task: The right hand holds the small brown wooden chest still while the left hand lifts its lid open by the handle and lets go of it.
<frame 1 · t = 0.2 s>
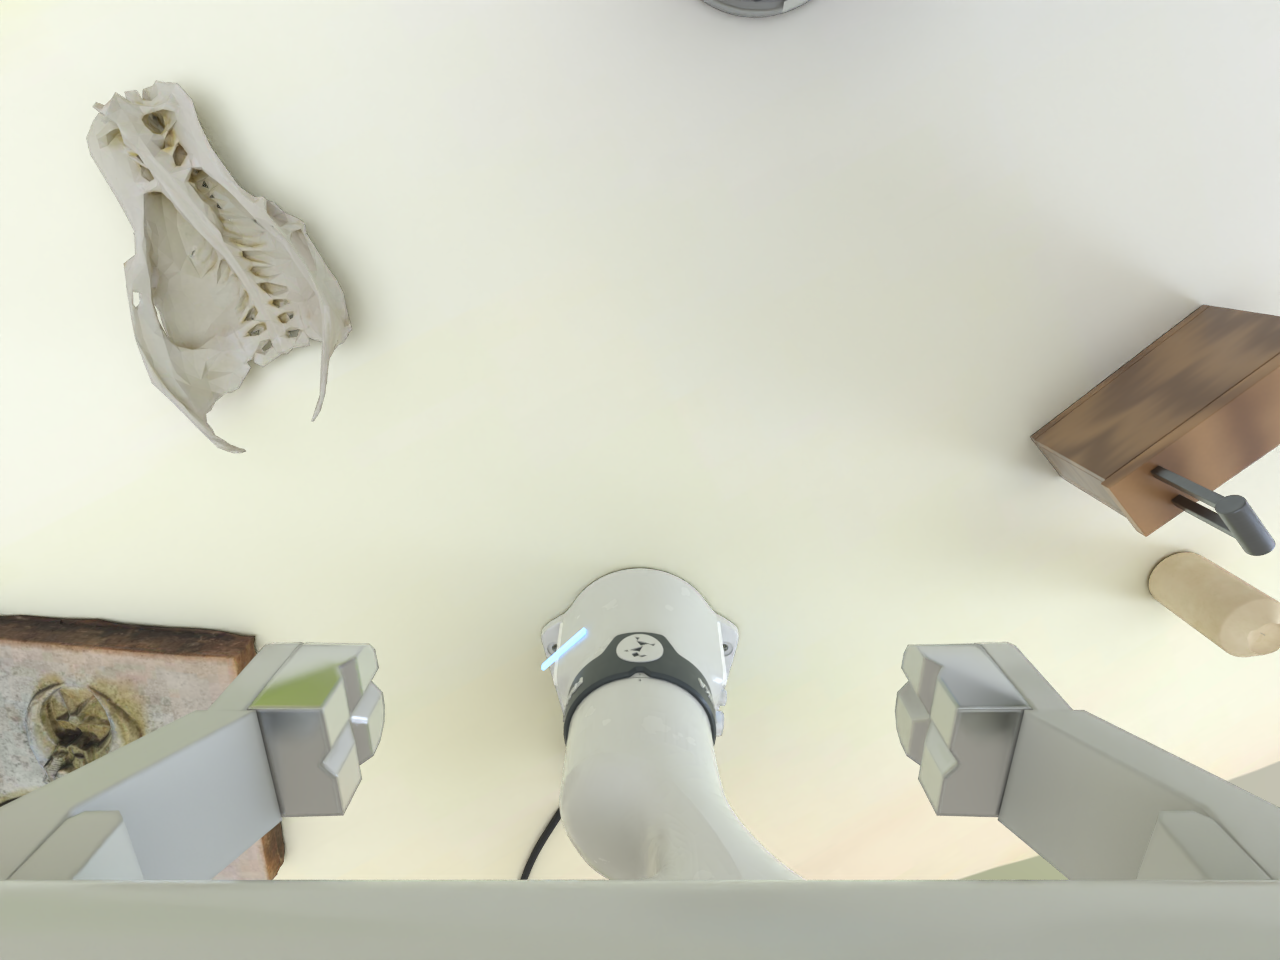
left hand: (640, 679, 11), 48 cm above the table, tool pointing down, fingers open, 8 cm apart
candle: (1176, 576, 64), on the table
anatomical model: (246, 264, 54), on the table
chest: (1129, 395, 58), on the table
plaque: (126, 742, 71), on the table
lid: (1276, 451, 44), point 15 cm above the table, hinge at 0.0°
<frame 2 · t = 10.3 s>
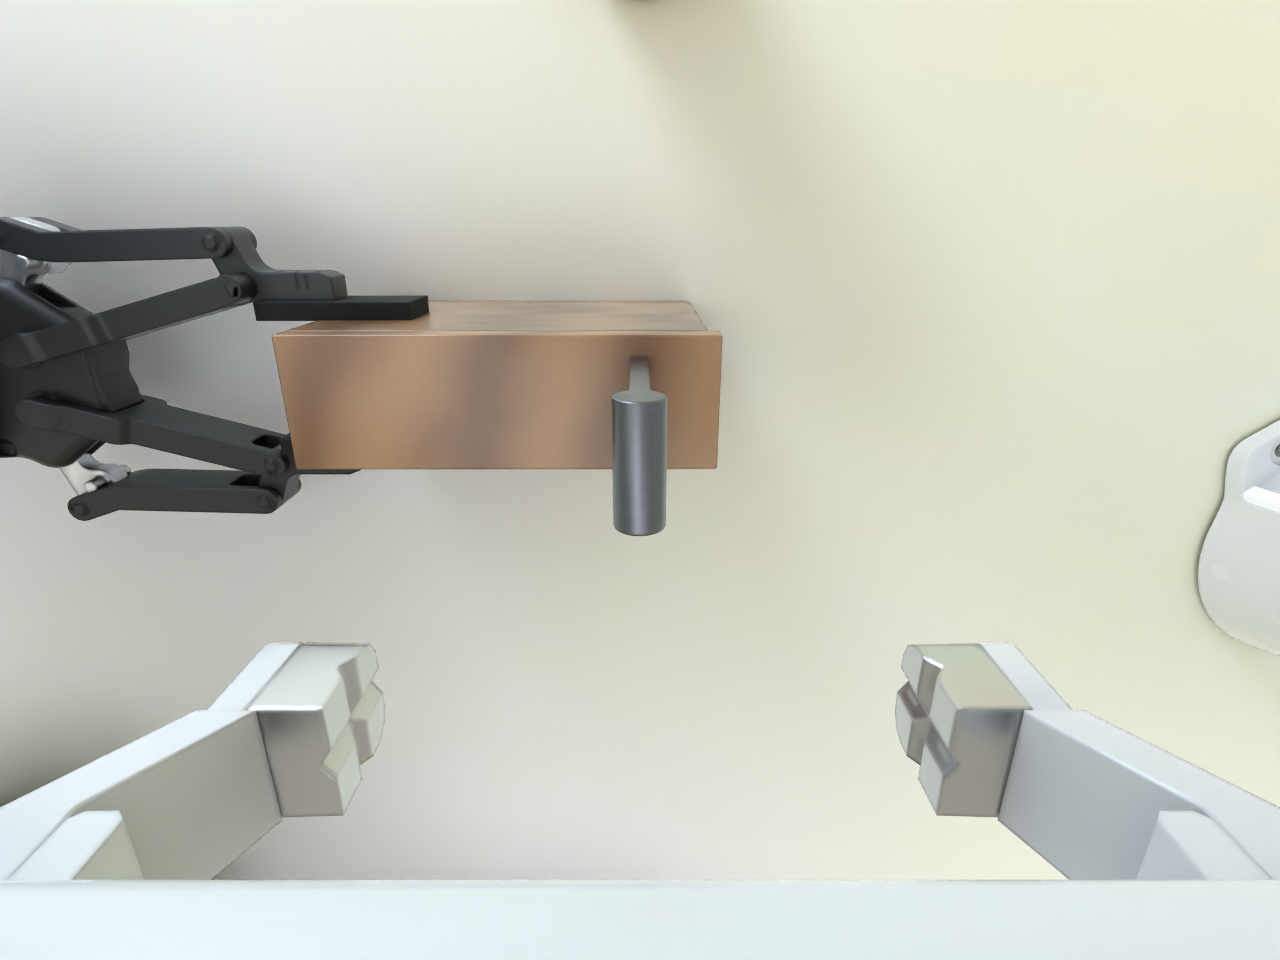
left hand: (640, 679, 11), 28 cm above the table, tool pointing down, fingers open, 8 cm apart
right hand: (425, 375, 31), fingers closed on chest, 5 cm apart
chest: (537, 351, 37), on the table, touching right hand
lid: (484, 428, 23), point 15 cm above the table, hinge at 0.0°
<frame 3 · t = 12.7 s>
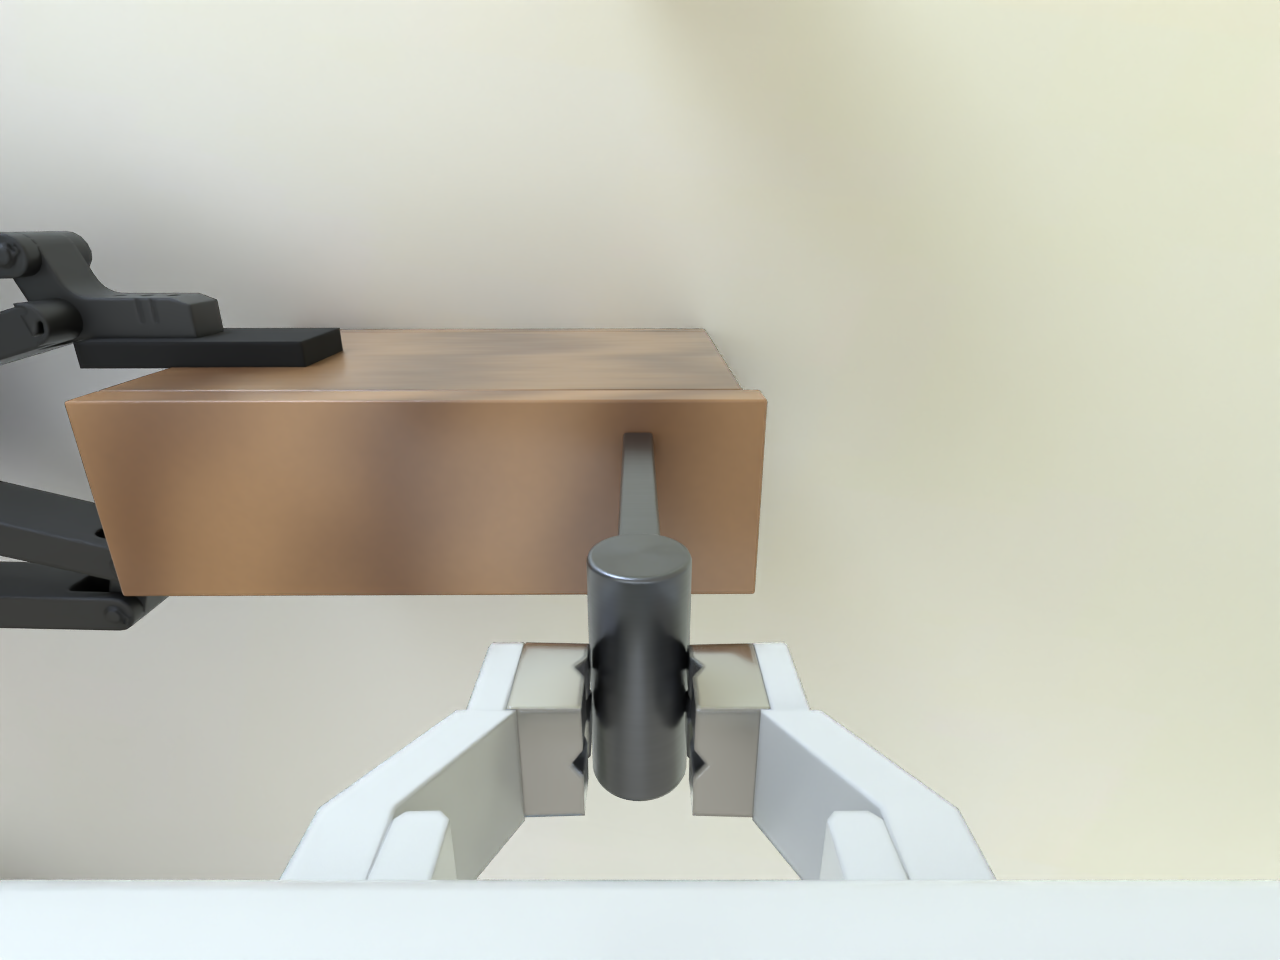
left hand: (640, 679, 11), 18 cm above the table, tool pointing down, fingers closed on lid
chest: (503, 394, 28), on the table, touching right hand
lid: (383, 564, 14), point 15 cm above the table, hinge at -0.1°, touching left hand
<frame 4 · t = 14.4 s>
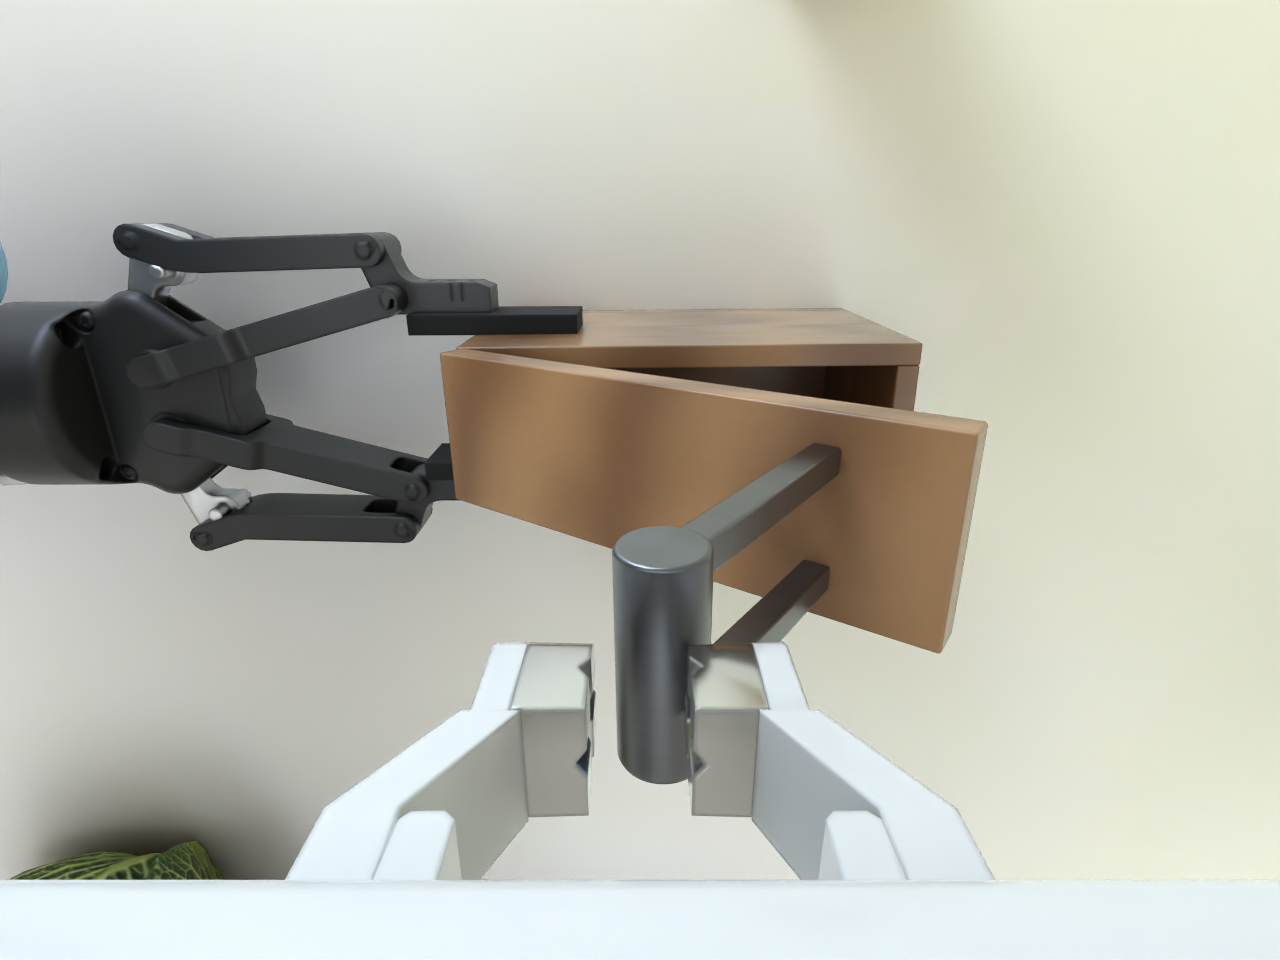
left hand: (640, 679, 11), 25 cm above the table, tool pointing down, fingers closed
right hand: (581, 392, 29), fingers closed on chest, 5 cm apart
vegetable: (166, 896, 47), on the table
chest: (675, 363, 34), on the table, touching right hand
lid: (565, 513, 17), point 19 cm above the table, hinge at 35.7°, touching left hand
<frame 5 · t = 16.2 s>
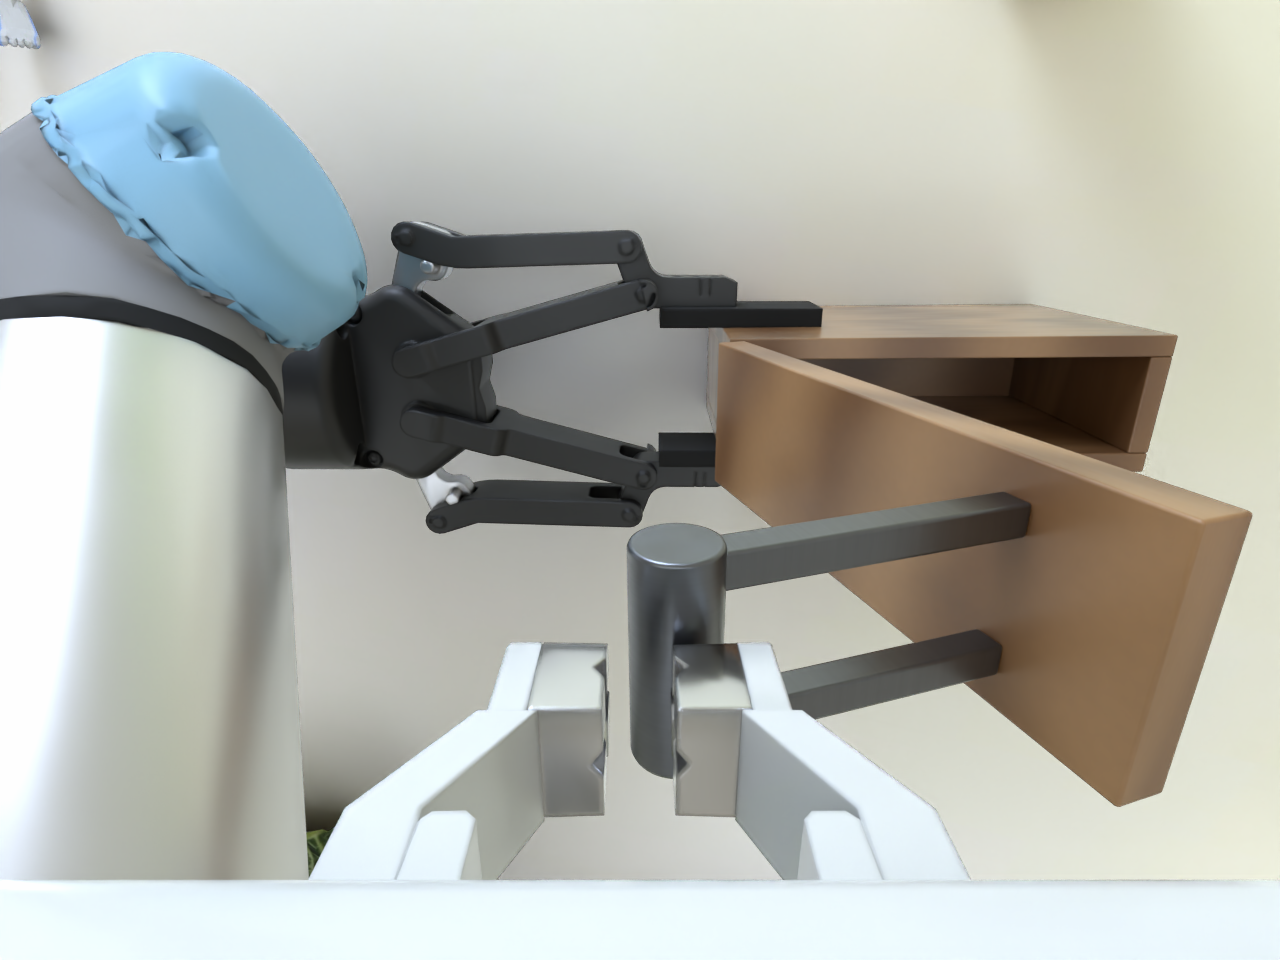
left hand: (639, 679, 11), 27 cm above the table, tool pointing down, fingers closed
right hand: (807, 384, 30), fingers closed on chest, 5 cm apart
vegetable: (319, 873, 49), on the table
chest: (864, 357, 36), on the table, touching right hand
lid: (733, 507, 17), point 20 cm above the table, hinge at 70.9°, touching left hand
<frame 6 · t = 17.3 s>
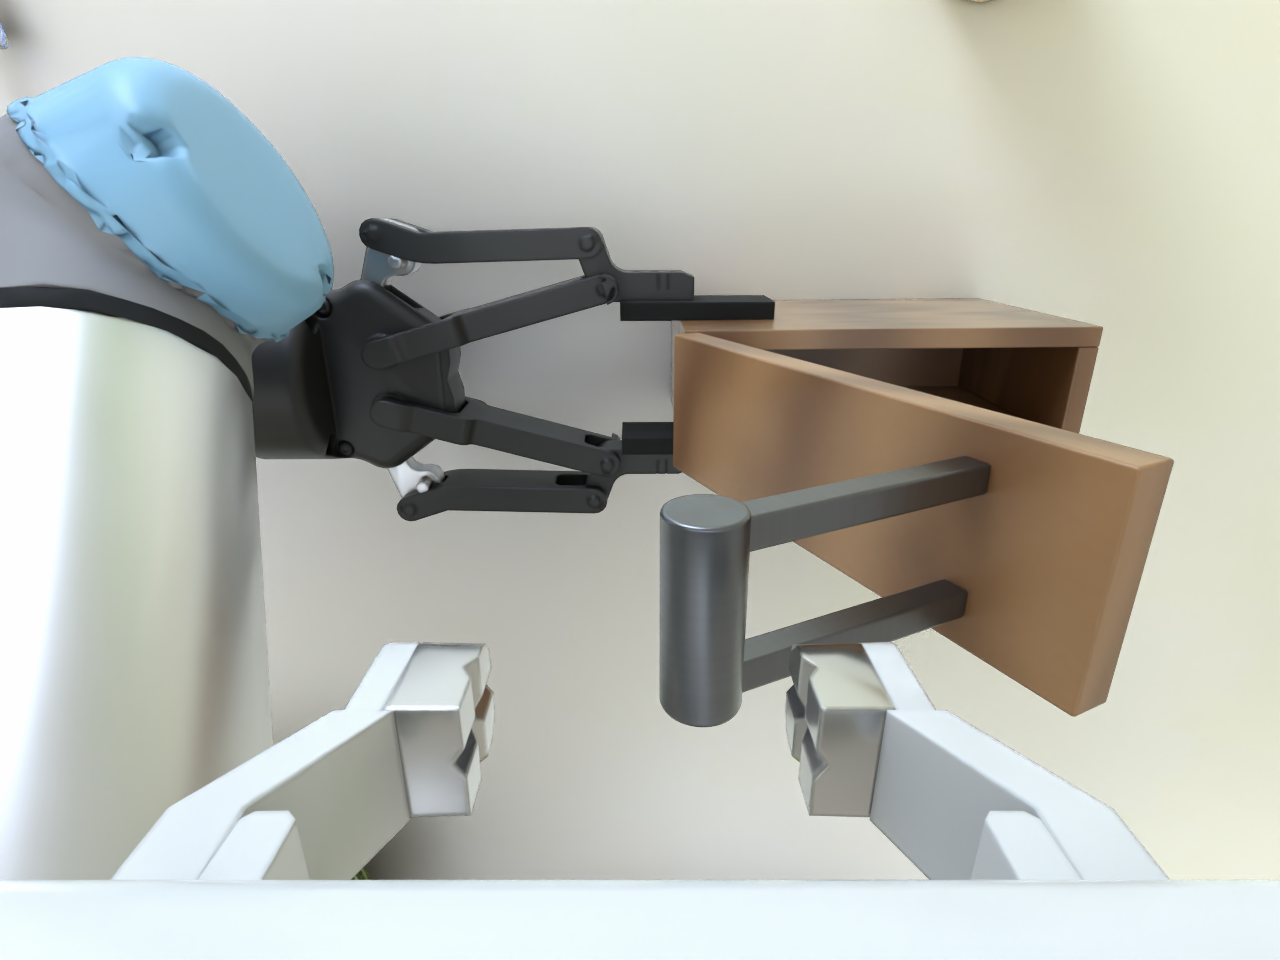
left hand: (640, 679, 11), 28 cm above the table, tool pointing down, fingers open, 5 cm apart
right hand: (763, 374, 31), fingers closed on chest, 5 cm apart
chest: (821, 349, 37), on the table, touching right hand
lid: (715, 485, 18), point 20 cm above the table, hinge at 64.5°
when the right hand's fingers open (6 cm above the table, at t = 19.9 s): chest stays where it is, on the table.
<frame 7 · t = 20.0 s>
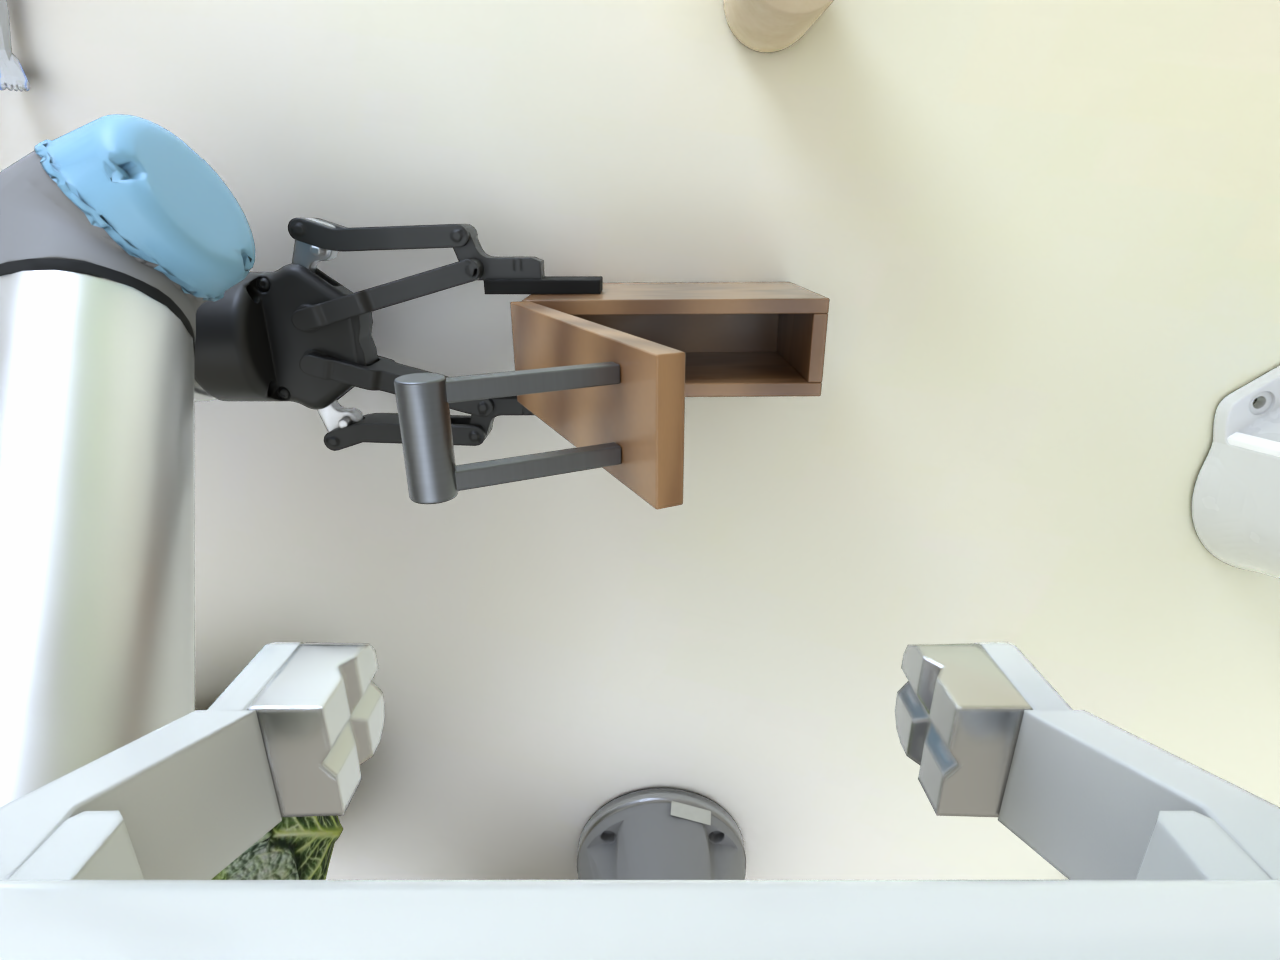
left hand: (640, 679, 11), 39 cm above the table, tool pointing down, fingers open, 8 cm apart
right hand: (601, 337, 41), fingers open, 5 cm apart
vegetable: (263, 754, 60), on the table
candle: (769, 0, 40), on the table
chest: (668, 322, 47), on the table
lid: (493, 392, 28), point 20 cm above the table, hinge at 64.1°
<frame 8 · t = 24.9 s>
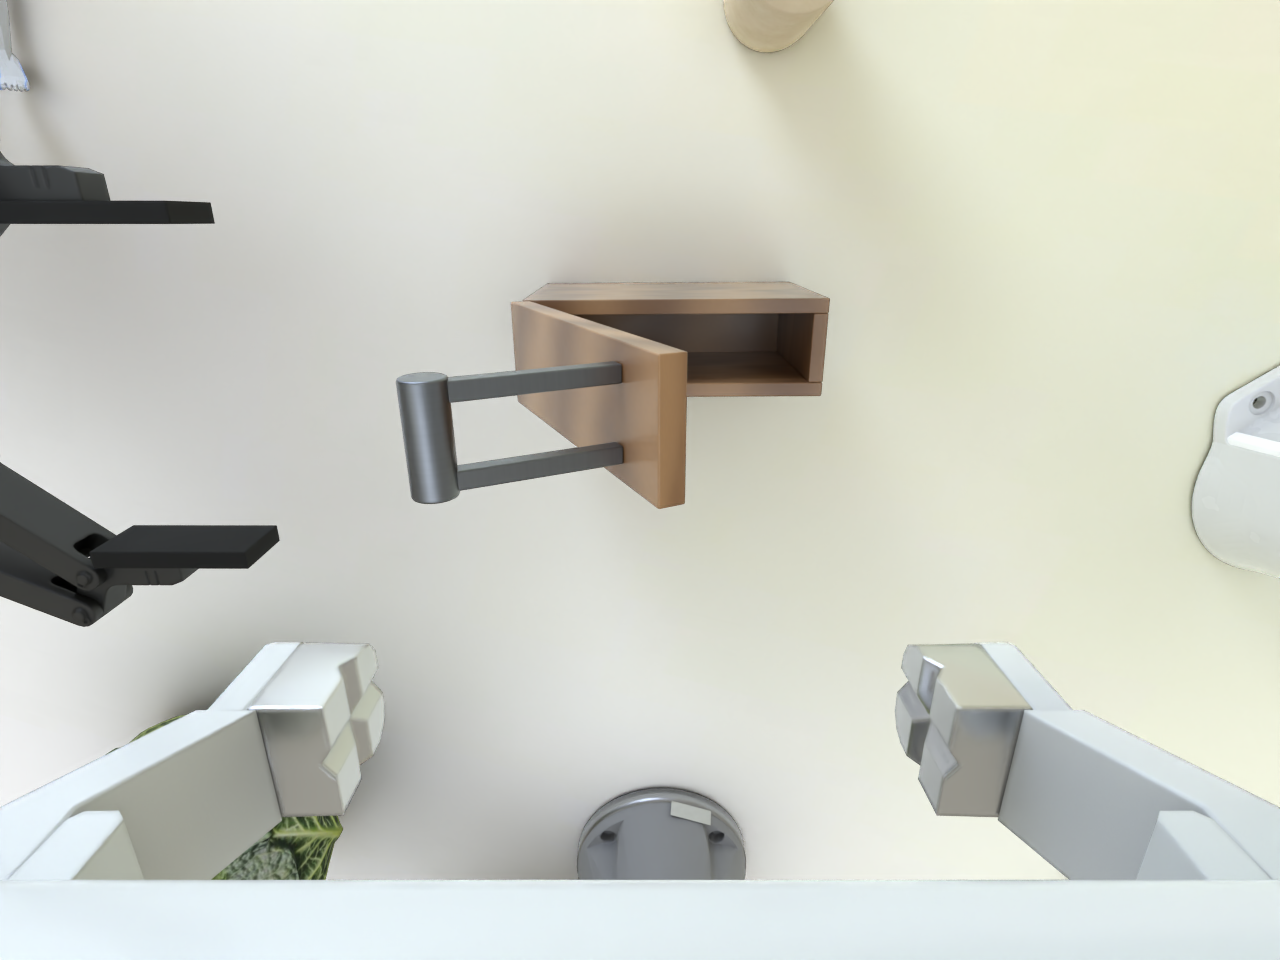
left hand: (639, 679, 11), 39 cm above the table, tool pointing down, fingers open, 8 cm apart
vegetable: (263, 754, 60), on the table
candle: (769, 0, 40), on the table
chest: (668, 322, 47), on the table
lid: (494, 392, 28), point 20 cm above the table, hinge at 64.1°
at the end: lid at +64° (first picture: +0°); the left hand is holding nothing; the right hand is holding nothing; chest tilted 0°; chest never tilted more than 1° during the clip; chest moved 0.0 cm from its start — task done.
